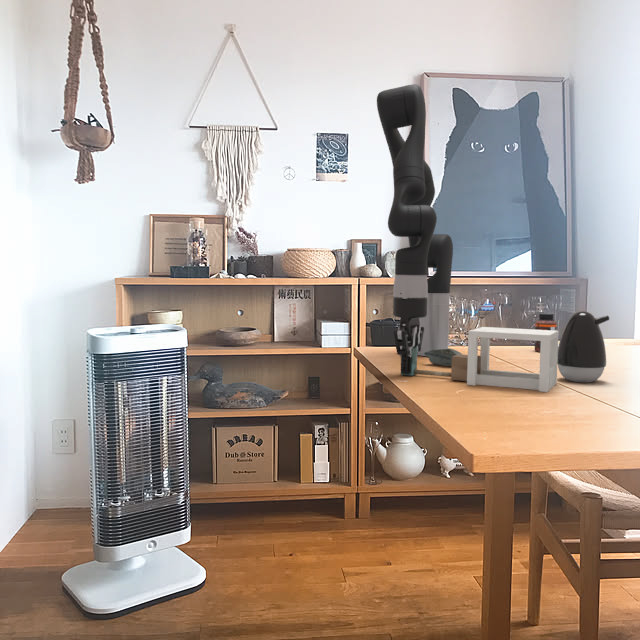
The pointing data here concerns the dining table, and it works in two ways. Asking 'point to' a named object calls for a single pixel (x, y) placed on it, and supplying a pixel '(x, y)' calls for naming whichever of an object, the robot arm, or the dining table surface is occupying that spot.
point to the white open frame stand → (507, 378)
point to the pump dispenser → (582, 348)
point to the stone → (441, 356)
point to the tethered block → (456, 372)
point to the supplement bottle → (544, 326)
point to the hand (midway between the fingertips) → (408, 372)
